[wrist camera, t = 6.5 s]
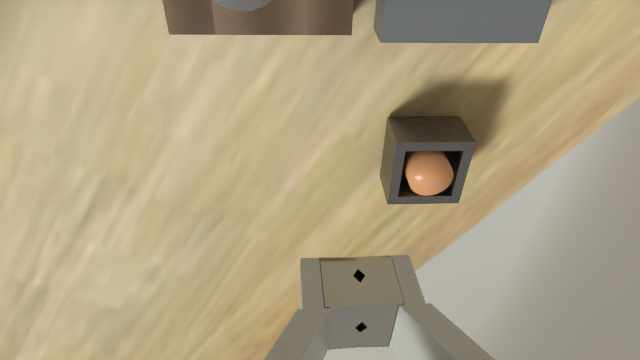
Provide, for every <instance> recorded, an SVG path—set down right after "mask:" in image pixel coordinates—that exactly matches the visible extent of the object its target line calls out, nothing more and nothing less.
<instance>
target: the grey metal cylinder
mask: <svg viewBox="0 0 640 360" xmlns="http://www.w3.org/2000/svg"><path fill="white" fill-rule="evenodd" d="M212 1H214V2H215V3H217V4H218V5H220V6H222V7H224V8H227V9H230V10H235V11H251V10H255V9H258V8H261V7H263V6H265V5H266V4H268V3H269V2H270V1H271V0H212Z"/></svg>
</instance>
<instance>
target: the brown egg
mask: <svg viewBox="0 0 640 360" xmlns="http://www.w3.org/2000/svg"><path fill="white" fill-rule="evenodd" d="M403 168H404V171H405V174H406V177H407V180H408V183H409V186H410V188H411V189H412V190H413V191H414V192H415V193H417V194H419V195H424V196H429V195H435V194H438V193H440V192H442V191H443V190H445V189H446V188H447V187H448V186H449V185H450V184H451V182H452V180H453V169H452V167H451V165H450V163H449V161H448V159H447V157H446V155H445V153H444V151H406V152H405V158H404V164H403Z"/></svg>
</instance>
